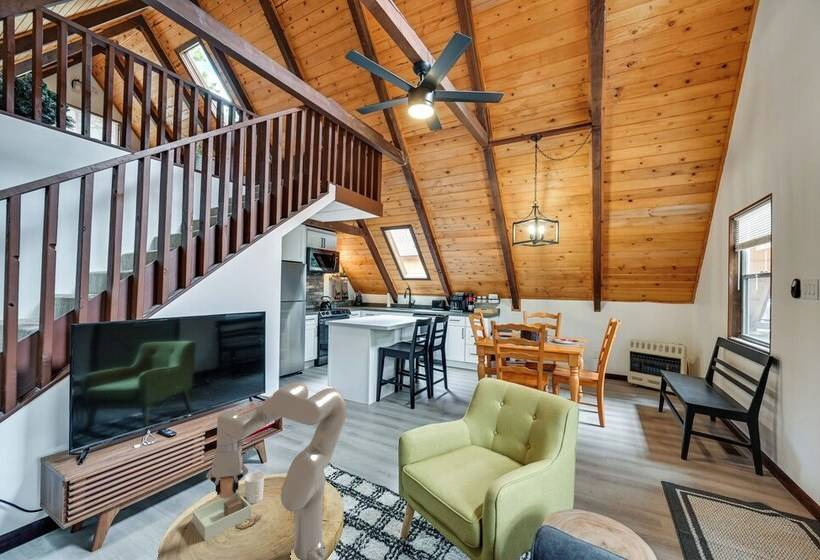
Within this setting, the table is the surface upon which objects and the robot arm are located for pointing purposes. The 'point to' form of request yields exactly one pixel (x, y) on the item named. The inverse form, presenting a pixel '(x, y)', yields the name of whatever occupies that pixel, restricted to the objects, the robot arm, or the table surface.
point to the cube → (232, 506)
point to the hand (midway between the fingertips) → (227, 491)
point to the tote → (219, 517)
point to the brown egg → (226, 486)
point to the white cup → (254, 487)
